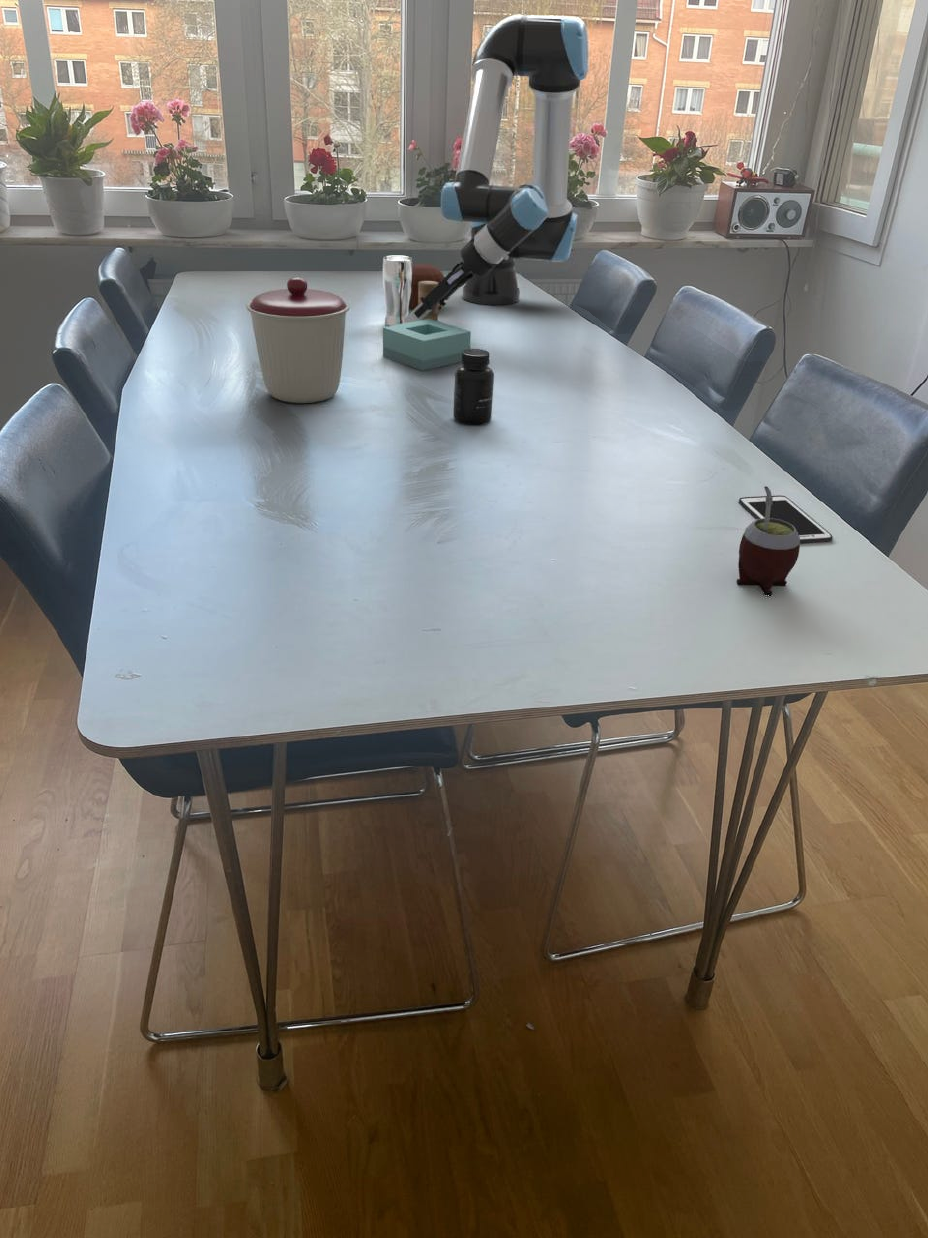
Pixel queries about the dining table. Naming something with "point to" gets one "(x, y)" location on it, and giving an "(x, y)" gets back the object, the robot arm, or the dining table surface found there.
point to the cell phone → (788, 517)
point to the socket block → (425, 343)
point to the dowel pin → (423, 291)
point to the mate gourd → (767, 551)
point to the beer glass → (397, 287)
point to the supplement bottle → (473, 388)
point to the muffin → (423, 274)
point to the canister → (299, 341)
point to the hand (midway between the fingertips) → (412, 321)
